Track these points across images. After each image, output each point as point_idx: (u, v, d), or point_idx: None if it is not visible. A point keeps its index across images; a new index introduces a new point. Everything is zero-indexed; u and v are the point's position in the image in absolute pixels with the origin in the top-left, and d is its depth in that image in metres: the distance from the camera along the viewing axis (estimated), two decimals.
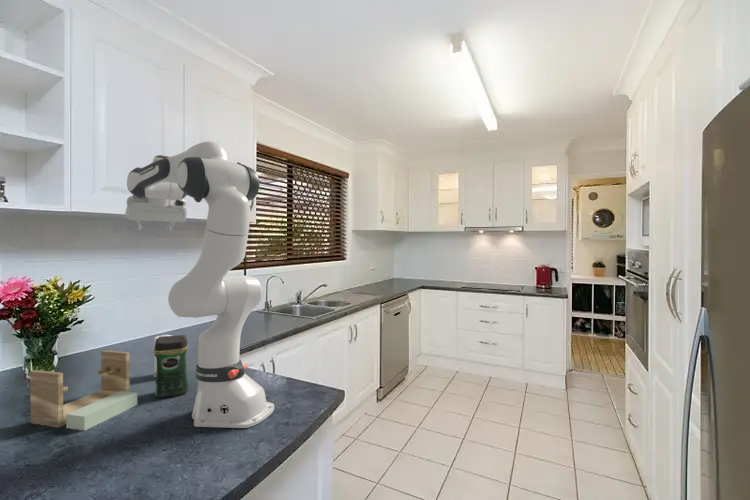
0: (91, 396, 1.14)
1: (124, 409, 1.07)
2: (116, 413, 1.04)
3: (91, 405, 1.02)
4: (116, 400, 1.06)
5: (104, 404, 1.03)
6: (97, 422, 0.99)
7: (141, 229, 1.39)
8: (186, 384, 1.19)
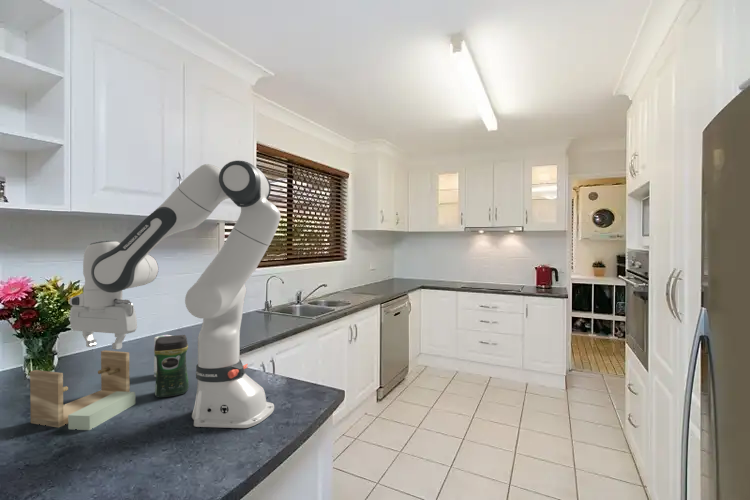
0: (91, 396, 1.14)
1: (124, 408, 1.07)
2: (117, 412, 1.05)
3: (91, 405, 1.02)
4: (116, 400, 1.06)
5: (106, 404, 1.03)
6: (100, 421, 0.99)
7: None
8: (186, 384, 1.19)
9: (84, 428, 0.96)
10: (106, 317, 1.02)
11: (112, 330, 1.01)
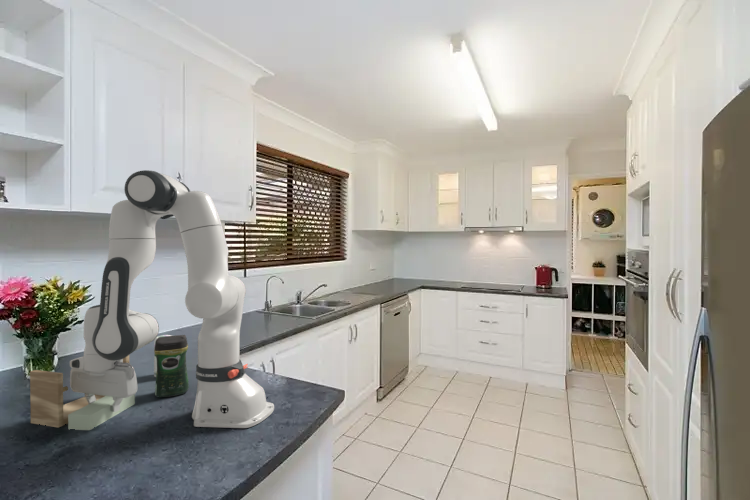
0: None
1: (123, 408, 1.07)
2: (117, 412, 1.05)
3: (91, 405, 1.02)
4: None
5: (105, 404, 1.03)
6: (100, 421, 0.99)
7: None
8: (186, 384, 1.19)
9: (84, 427, 0.96)
10: (106, 380, 1.02)
11: (112, 394, 1.01)
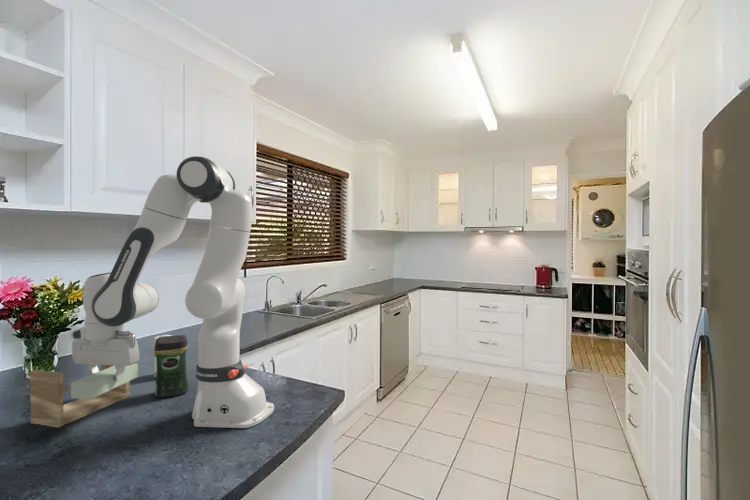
0: None
1: (127, 379, 1.07)
2: (120, 382, 1.05)
3: (94, 375, 1.02)
4: None
5: (108, 373, 1.03)
6: (103, 390, 0.99)
7: None
8: (186, 384, 1.19)
9: (87, 395, 0.96)
10: (108, 349, 1.02)
11: (115, 362, 1.01)
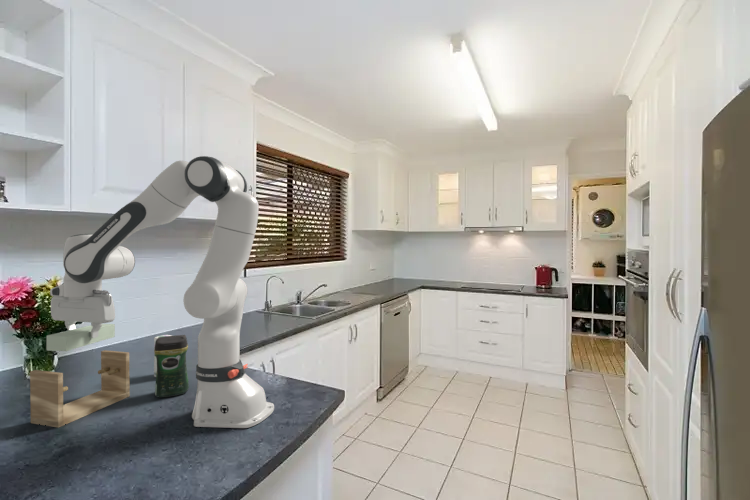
0: (91, 396, 1.14)
1: (102, 337, 1.11)
2: (95, 339, 1.09)
3: (70, 331, 1.06)
4: None
5: (84, 330, 1.07)
6: (78, 344, 1.03)
7: None
8: (186, 384, 1.19)
9: (61, 348, 1.00)
10: (85, 307, 1.06)
11: (91, 319, 1.05)
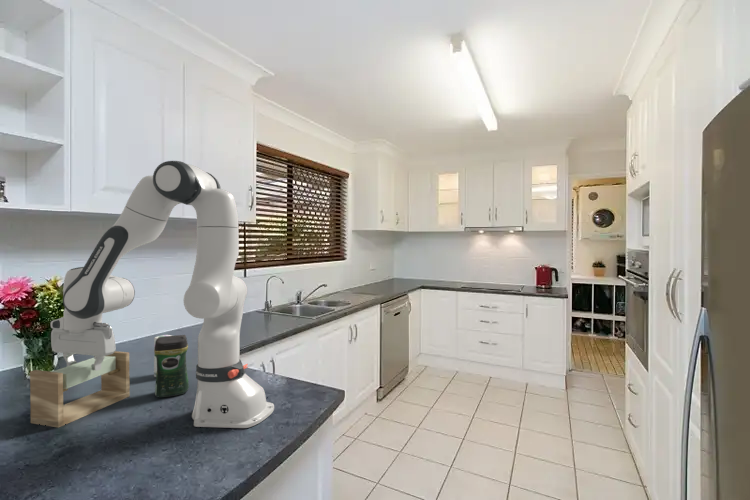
0: (91, 396, 1.14)
1: (103, 371, 1.12)
2: (96, 374, 1.09)
3: (71, 366, 1.06)
4: None
5: (84, 365, 1.07)
6: (78, 381, 1.03)
7: None
8: (186, 384, 1.19)
9: None
10: (85, 340, 1.06)
11: (91, 352, 1.05)
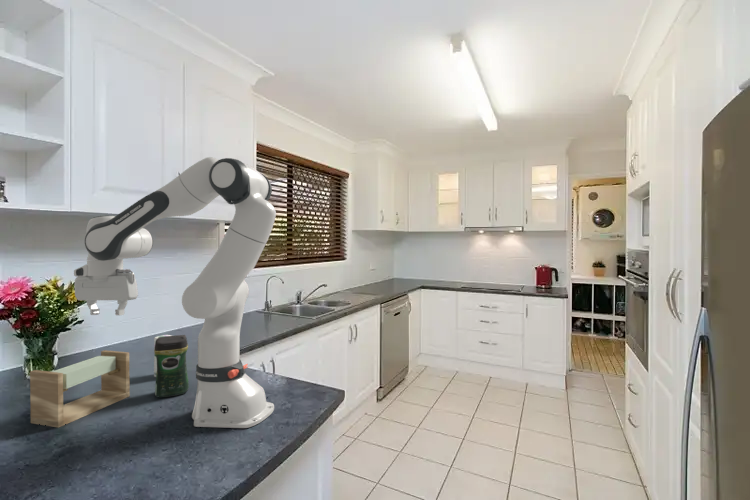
0: (91, 396, 1.14)
1: (103, 371, 1.12)
2: (96, 374, 1.09)
3: (71, 366, 1.06)
4: (95, 362, 1.10)
5: (84, 365, 1.07)
6: (78, 381, 1.03)
7: None
8: (186, 384, 1.19)
9: None
10: (109, 286, 1.10)
11: (115, 297, 1.09)
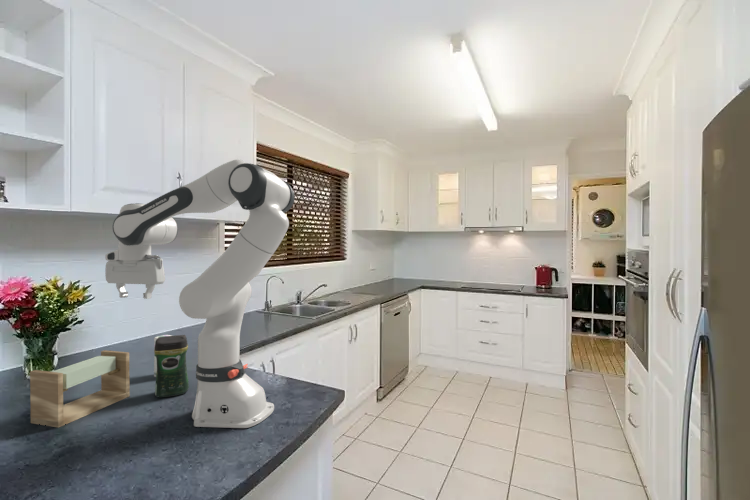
0: (91, 396, 1.14)
1: (103, 371, 1.12)
2: (96, 374, 1.09)
3: (71, 366, 1.06)
4: (95, 362, 1.10)
5: (84, 365, 1.07)
6: (78, 381, 1.03)
7: None
8: (186, 384, 1.19)
9: None
10: (138, 270, 1.16)
11: (143, 281, 1.15)
